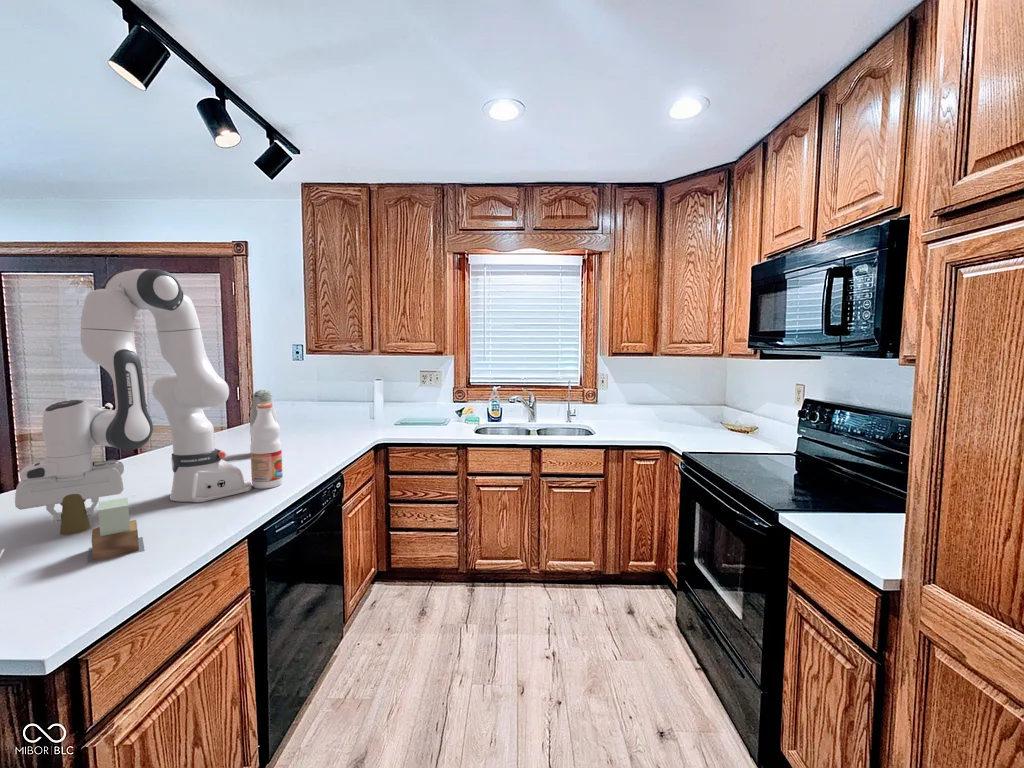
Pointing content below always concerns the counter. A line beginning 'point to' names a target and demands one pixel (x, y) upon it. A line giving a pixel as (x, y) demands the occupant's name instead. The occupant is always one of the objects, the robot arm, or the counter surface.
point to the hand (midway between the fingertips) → (74, 517)
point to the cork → (74, 515)
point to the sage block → (113, 516)
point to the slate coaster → (141, 548)
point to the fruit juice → (265, 449)
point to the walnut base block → (114, 542)
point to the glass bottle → (261, 398)
